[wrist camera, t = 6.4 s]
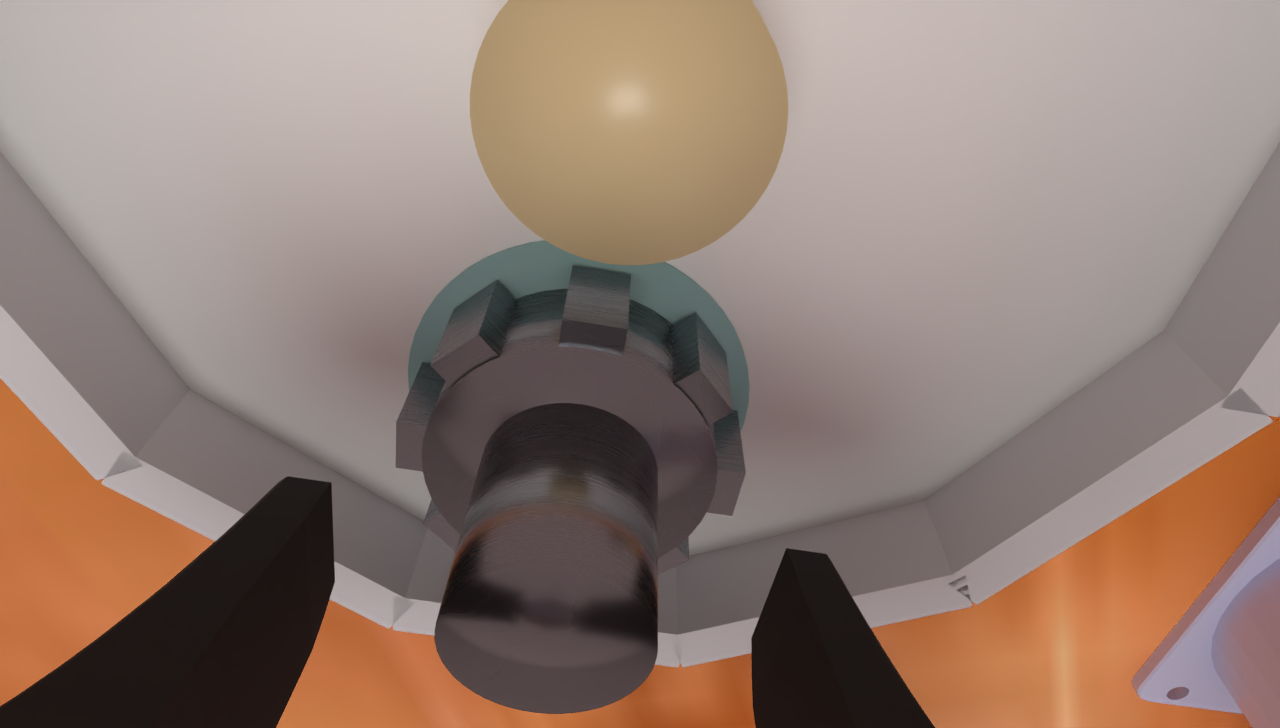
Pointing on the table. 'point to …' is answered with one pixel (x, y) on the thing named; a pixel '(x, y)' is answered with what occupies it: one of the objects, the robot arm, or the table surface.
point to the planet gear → (566, 483)
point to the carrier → (657, 258)
